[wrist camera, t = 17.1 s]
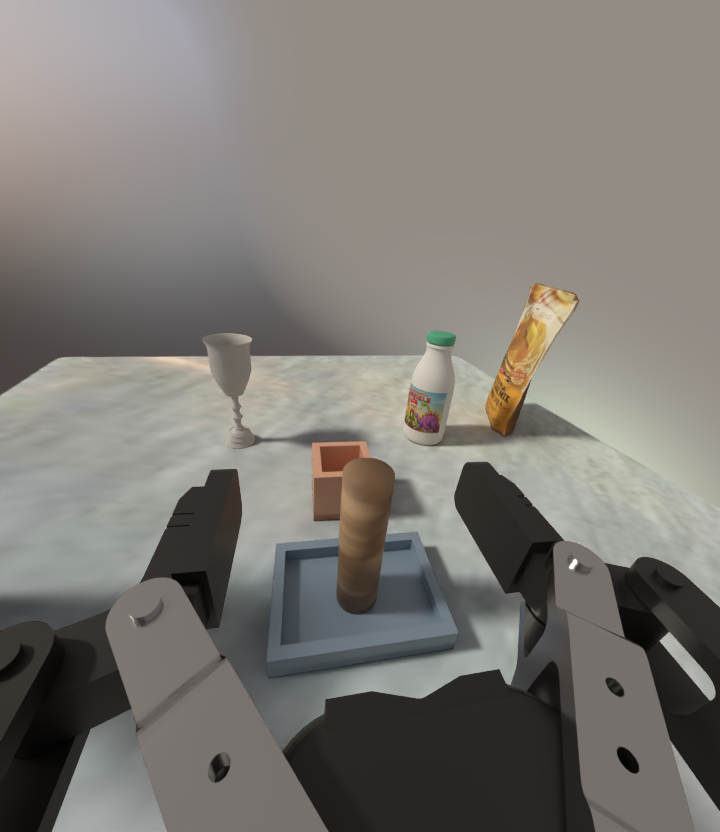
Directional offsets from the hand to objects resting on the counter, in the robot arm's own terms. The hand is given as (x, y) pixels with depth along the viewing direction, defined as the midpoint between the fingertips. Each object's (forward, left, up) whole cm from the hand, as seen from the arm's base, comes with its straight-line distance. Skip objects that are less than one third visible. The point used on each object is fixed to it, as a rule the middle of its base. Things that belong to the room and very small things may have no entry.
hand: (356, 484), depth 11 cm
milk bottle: (+21, +41, -24) cm, 52 cm away
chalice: (-13, +41, -24) cm, 49 cm away
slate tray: (+3, +10, -24) cm, 26 cm away
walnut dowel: (+3, +10, -23) cm, 25 cm away
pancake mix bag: (+42, +47, -24) cm, 67 cm away
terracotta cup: (+3, +25, -24) cm, 34 cm away
